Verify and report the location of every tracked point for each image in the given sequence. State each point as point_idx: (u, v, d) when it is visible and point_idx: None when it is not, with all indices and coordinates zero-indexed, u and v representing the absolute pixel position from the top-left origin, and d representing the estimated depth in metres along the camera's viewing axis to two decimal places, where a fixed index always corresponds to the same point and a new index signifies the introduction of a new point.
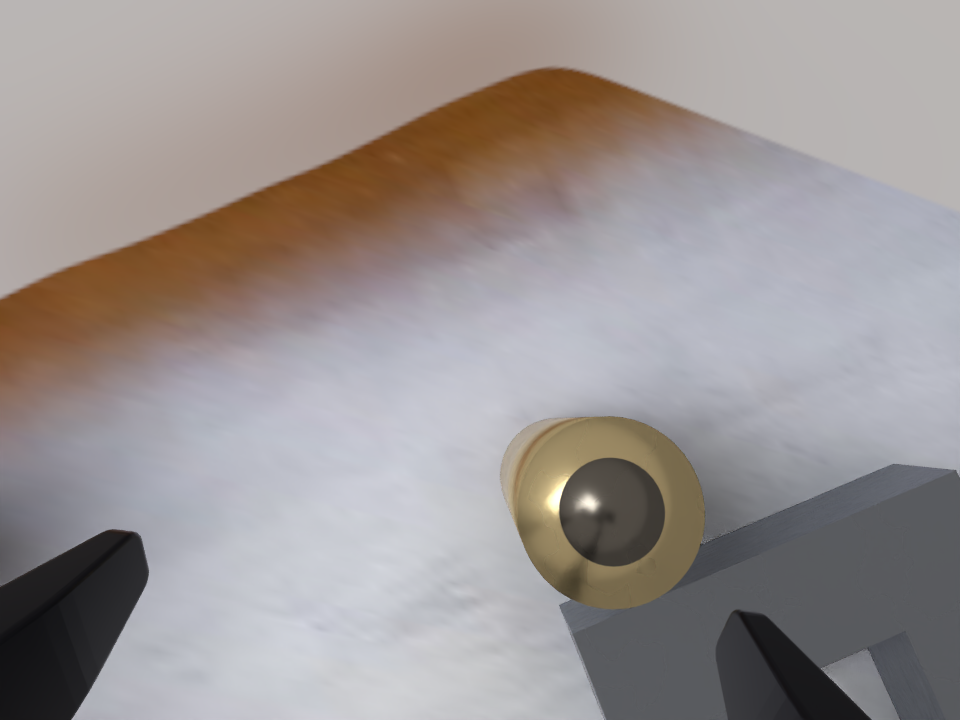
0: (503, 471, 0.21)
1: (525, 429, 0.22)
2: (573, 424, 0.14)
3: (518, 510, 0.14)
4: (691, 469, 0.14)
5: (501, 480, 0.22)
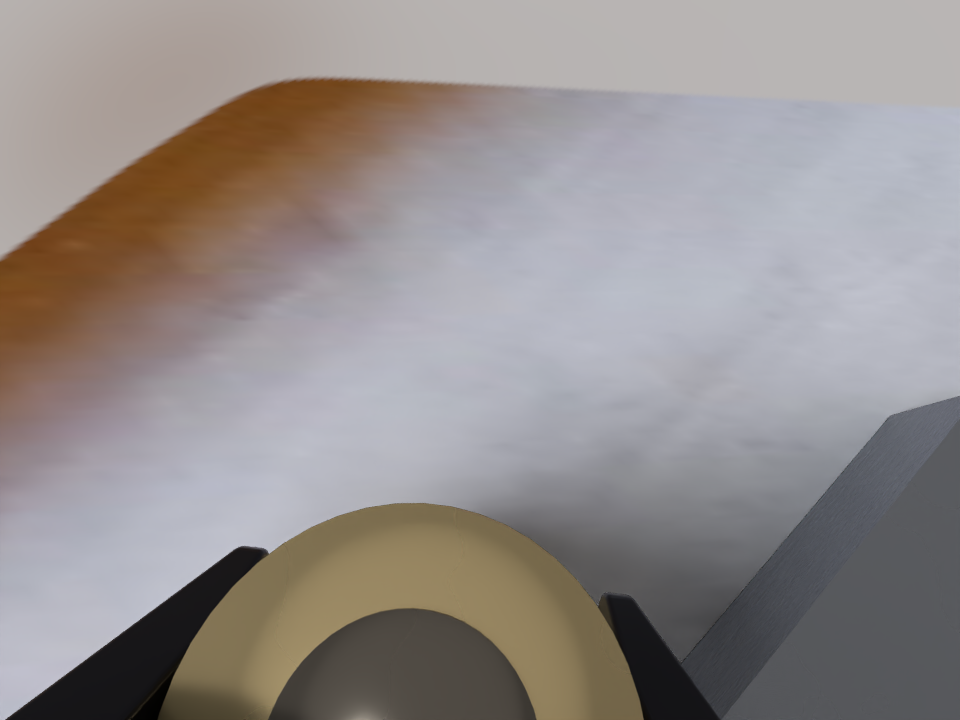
0: None
1: None
2: (254, 568, 0.06)
3: None
4: (559, 569, 0.06)
5: None
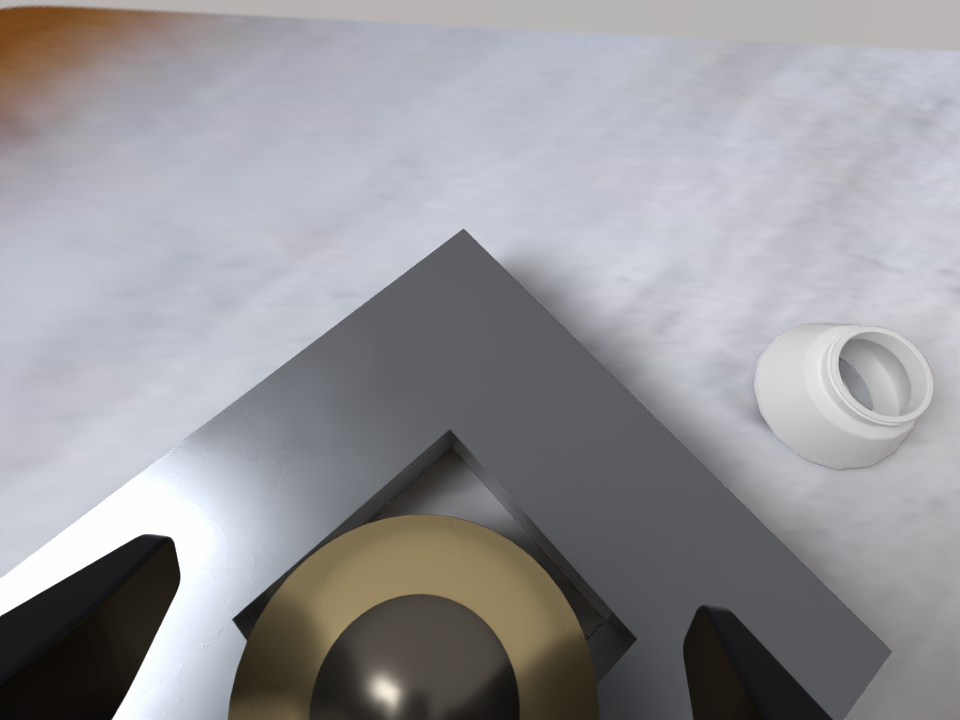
0: None
1: None
2: (303, 564, 0.08)
3: None
4: (534, 565, 0.08)
5: None
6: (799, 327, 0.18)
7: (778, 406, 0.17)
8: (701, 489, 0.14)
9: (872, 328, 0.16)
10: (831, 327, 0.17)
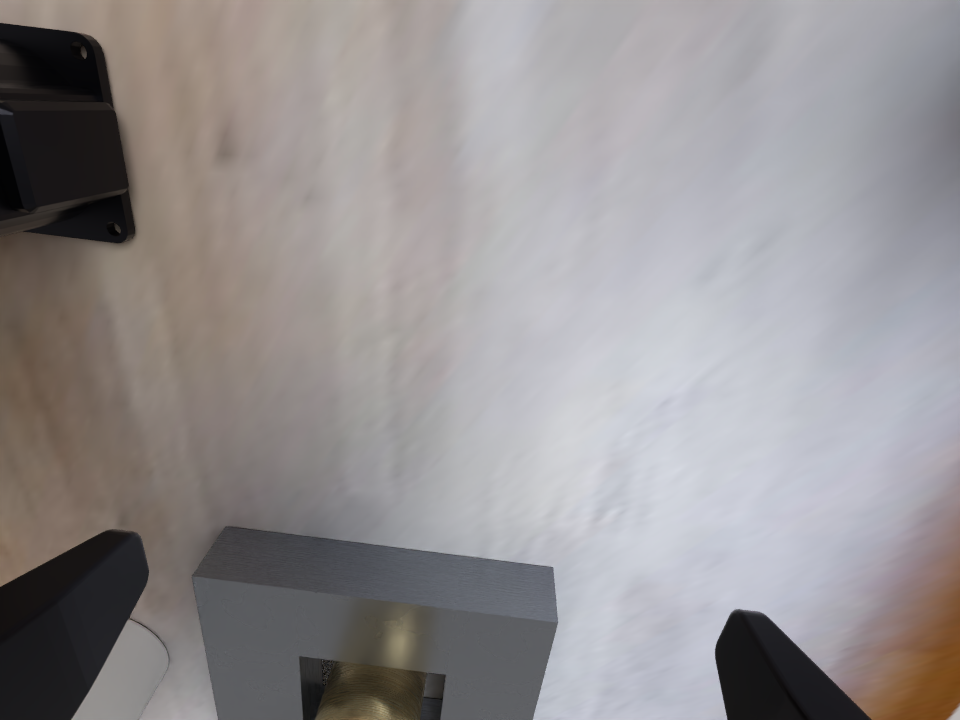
0: None
1: None
2: None
3: None
4: None
5: None
6: None
7: None
8: None
9: None
10: None
